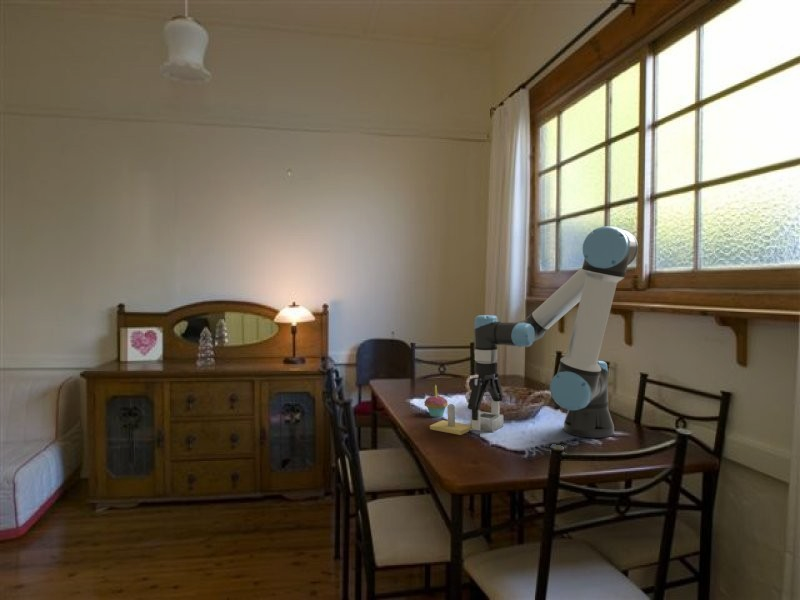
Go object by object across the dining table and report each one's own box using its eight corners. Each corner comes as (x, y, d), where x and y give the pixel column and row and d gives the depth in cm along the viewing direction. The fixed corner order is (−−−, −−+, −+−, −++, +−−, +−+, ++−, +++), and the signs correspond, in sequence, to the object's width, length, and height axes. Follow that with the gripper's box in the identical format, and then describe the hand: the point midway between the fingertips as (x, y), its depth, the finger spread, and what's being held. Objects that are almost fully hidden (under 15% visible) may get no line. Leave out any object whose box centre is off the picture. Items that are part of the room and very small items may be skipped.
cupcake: (448, 418, 181) (447, 385, 181) (425, 418, 181) (424, 385, 181) (446, 412, 190) (446, 380, 189) (424, 412, 190) (423, 380, 190)
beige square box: (503, 426, 169) (503, 414, 169) (492, 432, 163) (492, 420, 163) (482, 422, 174) (482, 411, 174) (470, 428, 168) (470, 416, 168)
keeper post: (473, 429, 167) (472, 403, 167) (461, 435, 161) (460, 408, 160) (442, 423, 174) (442, 399, 174) (429, 429, 168) (429, 404, 168)
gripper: (493, 355, 180) (493, 414, 181) (456, 365, 160) (457, 431, 161) (512, 357, 175) (512, 417, 176) (477, 368, 156) (477, 436, 156)
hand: (486, 424), depth 169 cm, fingers open, 13 cm apart
